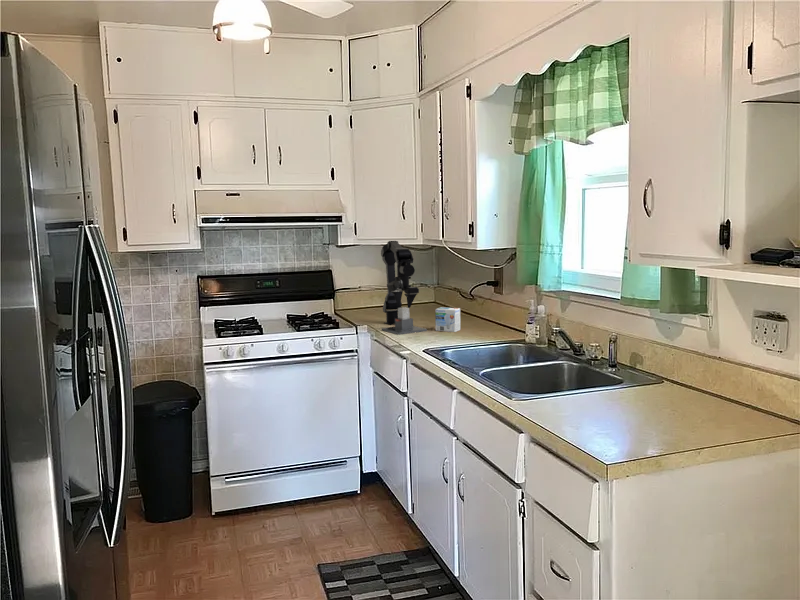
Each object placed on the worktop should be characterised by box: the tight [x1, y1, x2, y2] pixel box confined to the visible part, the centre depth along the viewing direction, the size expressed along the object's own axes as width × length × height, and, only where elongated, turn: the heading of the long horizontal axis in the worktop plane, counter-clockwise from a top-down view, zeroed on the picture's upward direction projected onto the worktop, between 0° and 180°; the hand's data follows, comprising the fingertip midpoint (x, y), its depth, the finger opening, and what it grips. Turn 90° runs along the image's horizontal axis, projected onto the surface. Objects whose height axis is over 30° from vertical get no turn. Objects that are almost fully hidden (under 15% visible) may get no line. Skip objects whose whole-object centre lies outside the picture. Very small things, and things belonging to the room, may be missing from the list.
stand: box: [381, 317, 428, 336], centre depth 328 cm, size 16×16×6 cm
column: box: [398, 306, 411, 320], centre depth 328 cm, size 4×4×10 cm
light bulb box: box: [434, 306, 461, 333], centre depth 326 cm, size 11×7×11 cm, turn 62°
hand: (403, 306), depth 327 cm, fingers open, 9 cm apart
